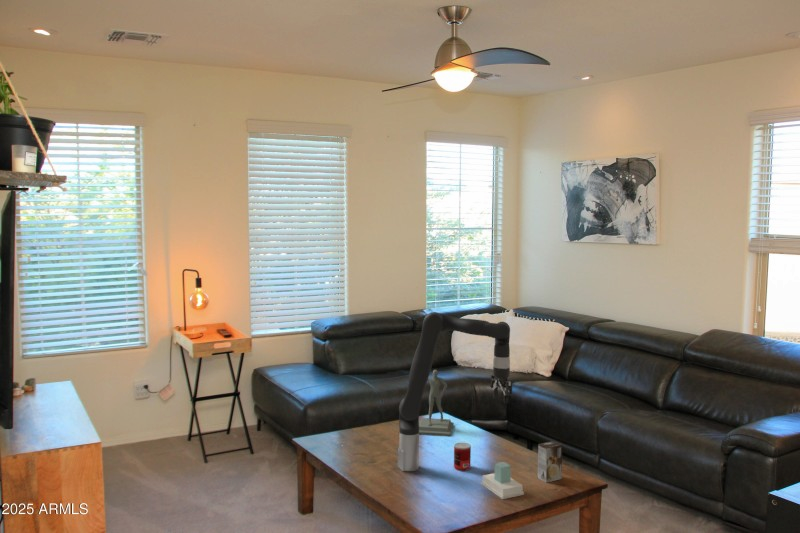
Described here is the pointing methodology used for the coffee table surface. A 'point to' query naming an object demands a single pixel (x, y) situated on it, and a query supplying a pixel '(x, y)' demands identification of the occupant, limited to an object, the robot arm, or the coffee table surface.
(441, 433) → the statue
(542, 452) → the coffee box
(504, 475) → the block
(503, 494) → the plinth
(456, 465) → the canned food
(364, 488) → the coffee table surface
